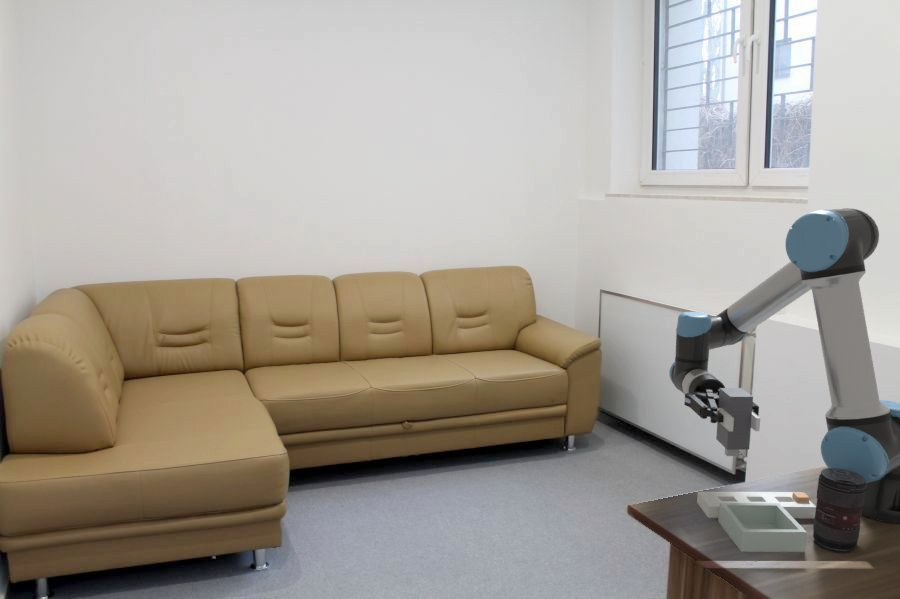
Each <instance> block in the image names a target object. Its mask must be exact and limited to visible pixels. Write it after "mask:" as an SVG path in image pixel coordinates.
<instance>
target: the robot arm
mask: <svg viewBox="0 0 900 599" xmlns="http://www.w3.org/2000/svg"><path fill="white" fill-rule="evenodd" d="M879 239H880V230H879V227H878V225H877V223H876V221H875V220H874V219H873V218H872V216H870V215H869V214H868V213H866V212H865V211H863V210H861V209H857V208H849V207H848V208H847V207H846V208H839V209H836V208H835V209H834V208H833V209H818V210H816V211H813V212H807V213H806V214H804V215H801V216H800V217H799V218H797V219H796V220H795V221H794V222H793V223H792V224H791V226H790V228H789V229H788V231H787V234H786V238H785V251H786V256H787V257H788V259H789V262H788V263H786V265H783V267H781V268H779V269H778V270H777V271H776V272H774V273H773V274H771V275H769V277H767V278H766V279H764V281H762V282H761V283H759V284H758V285H756V286H755V287H754V288H753V289H751V290H749V291H748V292H747V293H746V294H744V295H743V296H741V297H740V298H739V299H738V300H736V301H735V302H733V303H732V304H731V305H729V306H728V307H726V308H725V309H724V310H723V311H722V312H720V313H719V314H716V315H715V316H710V314H708V313H706V312H702V311H701V312H700V311H684V312H681V313H680V314H678V316H677V323H676V324H677V326H676V329H675V330H676V331H675V333H676V336H675V338H676V339H675V357H674V362H672V363H671V366H670V368H669V370H668V371H669V372H668V374H669V378H670V381H671V382H672V384H673V385H674V387H675V388H676V389H677V390H678V391H680V392H681V393H683V395H684V406H686V407H688V408H690V409H691V410H692V411H694V413H696V415H698V416H699V417H700V418H701V419H702V420H705V419H708V418H709V419H710V423H711V424H717V422H720V423H721V424H722V425H723V426H724V427H725V428H726V429H727V430H728V431H733V425H734V418H733V417H732V416H731V415H730V414H728V413H727V412H726V411H725V410H724V409H723V408H718V406H719V391H720V388H726V387H725V385H724V383H723V382H722V381H721V380H719V379H718V378H716V376H715V375H713V374H712V373H710V372H709V371H708V370H709V367H708V366H709V357H710V351H711V350H713V349H718V348H721V347H722V348H723V347H727V346H731V345H735V344H737V343H740V342H742V341H744V339H746V338H747V336H748V333H749V332H752V330H753V329H755V328H756V327H758V326H759V325H761V324H762V323H764V322H765V321H767V320H769V319H770V318H771V317H772V316H774V315H775V314H777V313H778V312H780V311H781V310H783V309H785V308H786V307H787V306H789V305H790V304H792V303H793V302H795V301H796V300H797V299H799V298H800V297H802V296H803V295H805V294H806V293H808V292H809V291H811V292H812V297H813V303H814V310H815V317H816V321H817V328H818V332H819V337H820V344H821V351H822V355H823V357H822V358H823V362H824V367H825V373H826V374H825V375H826V378H827V379H826V380H827V385H828V390H829V396H830V402H831V406H830V408H829V409H828V410H827V411H826V413H825V416H824V417H825V421H826V428H827V432H826V433H825V435H824V437H823V438H822V440H821V444H820V455H821V457H822V460H823V462H824V464H825V465H826V467H827V468H839V469H844V470H849V471H852V472H855V473H858V474H860V475H861V476H863V477H864V478H865V479H866V486H867V487H866V494H865V501H864V506H863V508H862V513H861V516H862V515H863V516H865V517H867V518H870V519H872V520H873V519H874V520H877V521H879V522H885V523H889V524H898V525H899V524H900V402H896V401H891V400H884V399H880V396H879V391H878V385H877V380H876V374H875V367H874V362H873V355H872V350H871V344H870V337H869V333H868V328H867V322H866V316H865V310H864V305H863V298H862V293H861V287H860V280H861V279H862V278H863V276H864V275H865V274H866V266H865V260H867V259H868V258H869V257H871V256H872V255H873V253H874V252H875V250H876V249H877V247H878V244H879V242H880V241H879ZM759 412H760V406H759V405H758V404H756V402H754V401H753V405H752V417H751V429H752V430H753V431H755V432H760V426H761V417H760V416H759V415H760V414H759Z"/></svg>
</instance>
